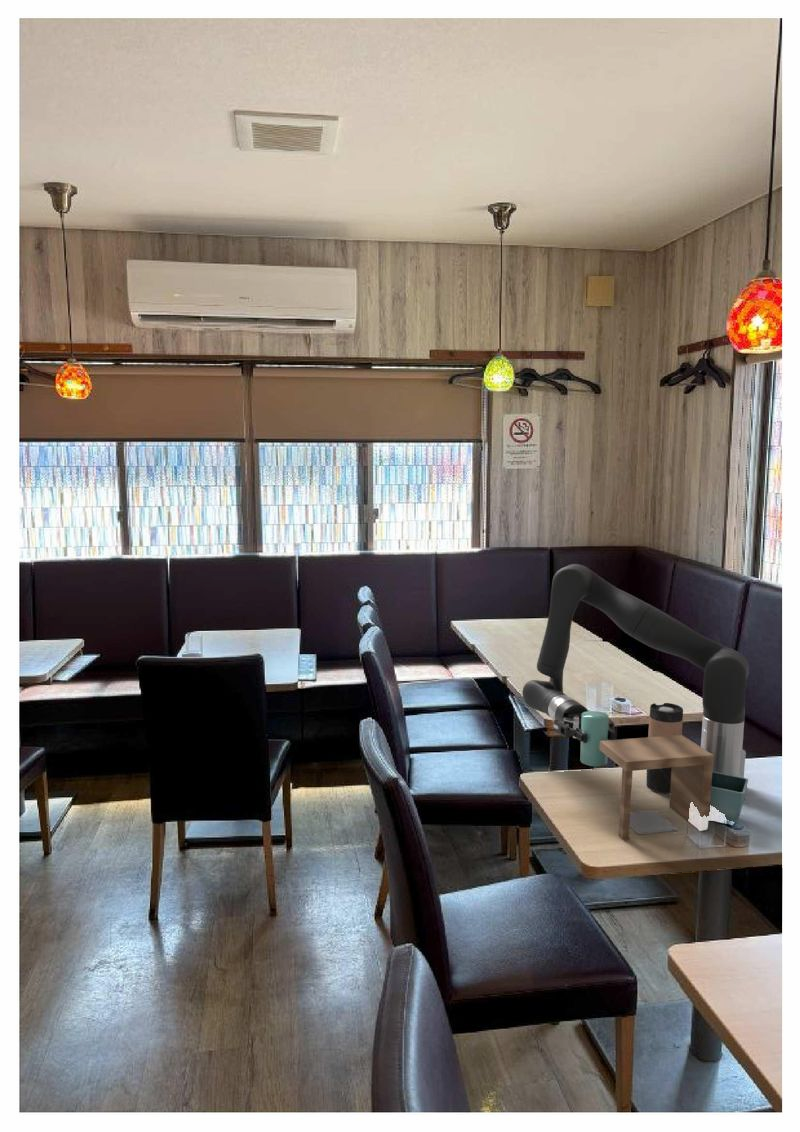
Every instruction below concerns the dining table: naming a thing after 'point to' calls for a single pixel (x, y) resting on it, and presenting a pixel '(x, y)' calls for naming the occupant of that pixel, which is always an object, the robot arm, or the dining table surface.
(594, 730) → the teal glossy cylinder
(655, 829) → the mat
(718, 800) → the flower pot
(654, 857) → the dining table surface
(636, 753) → the brown wooden shelf stand
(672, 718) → the travel mug
